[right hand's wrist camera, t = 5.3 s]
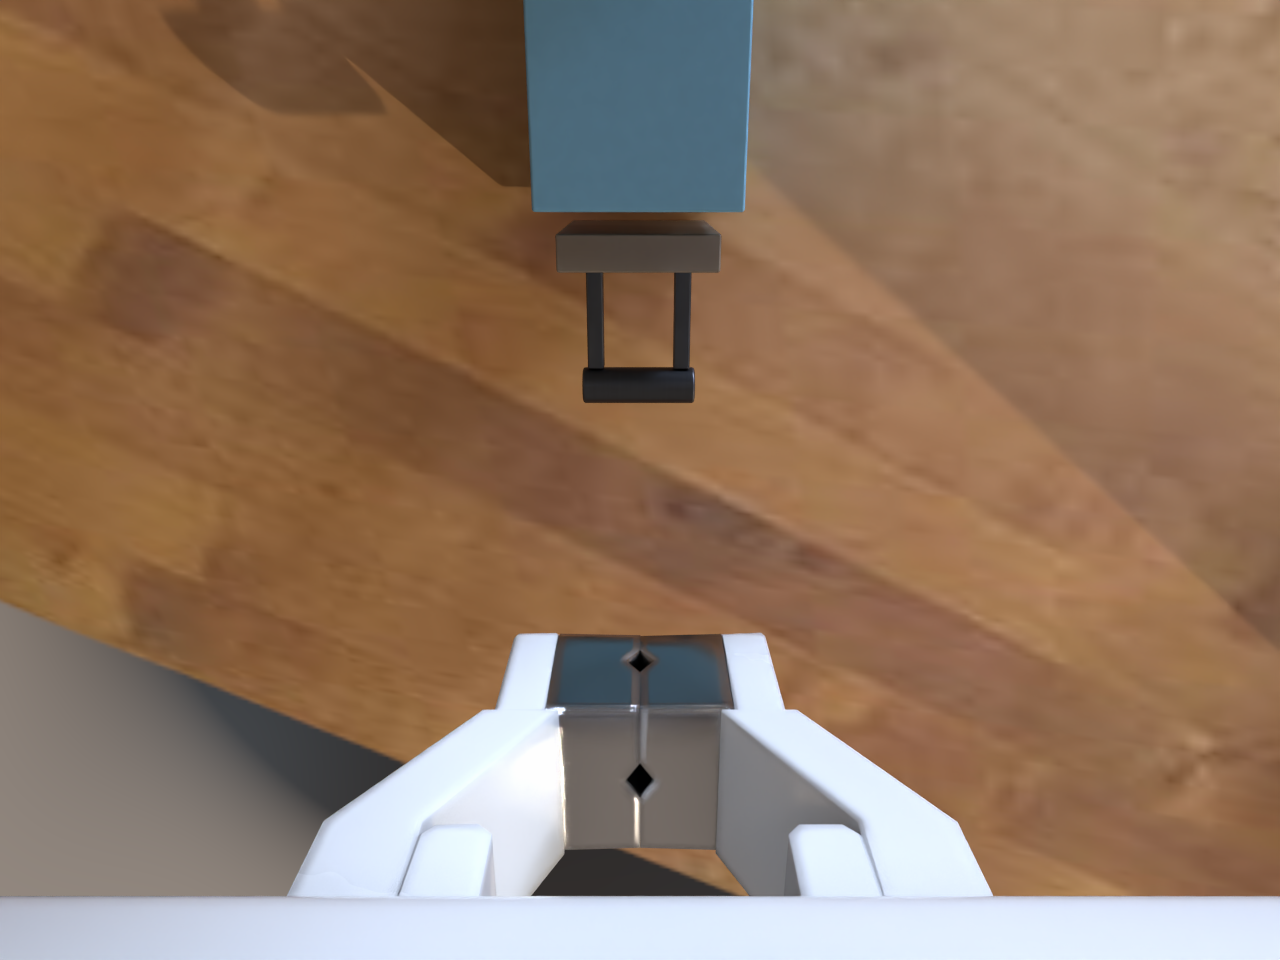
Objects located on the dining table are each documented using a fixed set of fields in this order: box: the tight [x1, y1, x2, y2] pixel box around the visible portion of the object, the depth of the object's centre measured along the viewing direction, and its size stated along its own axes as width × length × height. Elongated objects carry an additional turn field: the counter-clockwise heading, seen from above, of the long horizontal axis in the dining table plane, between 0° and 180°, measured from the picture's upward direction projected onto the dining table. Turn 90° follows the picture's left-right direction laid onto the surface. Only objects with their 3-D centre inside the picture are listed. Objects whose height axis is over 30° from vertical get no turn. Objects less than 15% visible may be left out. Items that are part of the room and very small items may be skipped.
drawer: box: [555, 220, 721, 403], centre depth 29 cm, size 20×5×7 cm, turn 0°
